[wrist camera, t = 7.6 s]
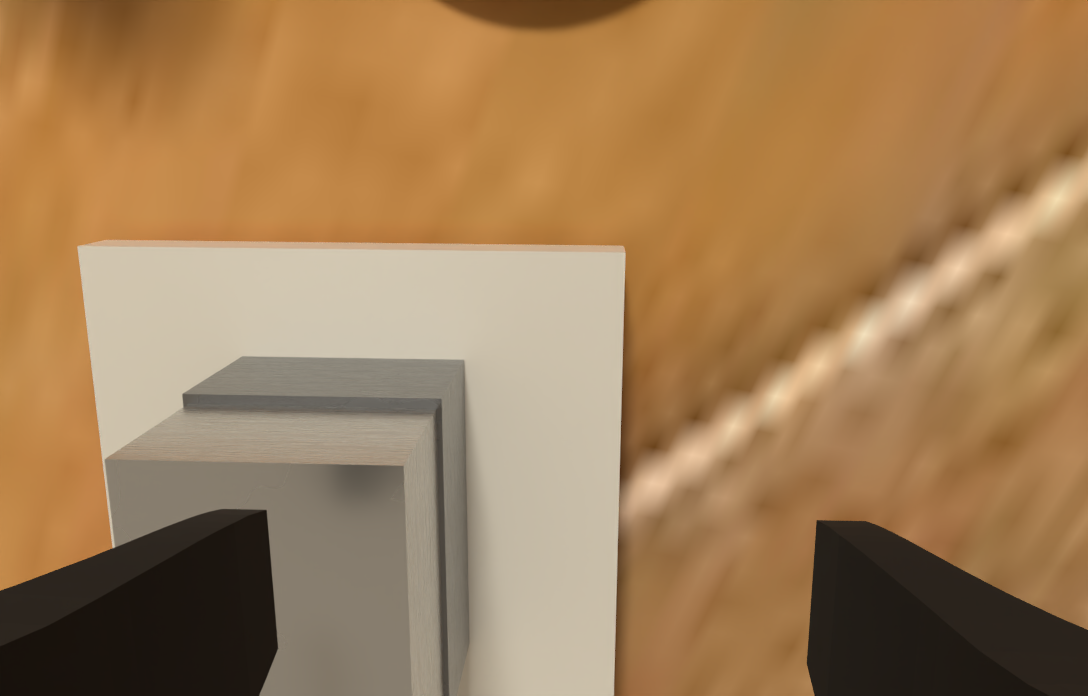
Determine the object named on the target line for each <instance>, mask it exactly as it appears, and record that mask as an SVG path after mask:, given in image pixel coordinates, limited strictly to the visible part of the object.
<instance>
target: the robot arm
mask: <svg viewBox="0 0 1088 696" xmlns="http://www.w3.org/2000/svg"><path fill="white" fill-rule="evenodd" d="M277 650H278V640H277V628H276V615H275V603H274V591H273V579H272V567H271V555H270V543H269V531H268V519H267V510H253V509H219V510H215V511H210V512H206V513H203V514H200V515H197V516H194V517H191V518H188V519H185V520H182V521H180V522H177V523H174V524H172V525H169V526H167V527H164V528H162V529H159V530H157V531H154V532H152V533H149V534H147V535H144V536H142V537H139V538H137V539H134V540H132V541H129V542H127V543H125V544H122V545H120V546H117V547H115V548H112V549H110V550H107V551H105V552H102V553H100V554H98V555H95V556H93V557H90V558H87V559H85V560H82V561H79V562H77V563H74V564H71V565H69V566H66V567H63V568H61V569H58V570H55V571H53V572H50V573H48V574H45V575H42V576H40V577H37V578H34V579H32V580H29V581H26V582H24V583H21V584H18V585H16V586H13V587H10V588H7V589H4V590H1V591H0V696H259V695H260V692H261V690H262V688H263V685H264V683H265V681H266V678H267V676H268V673H269V670H270V668H271V665H272V663H273V660H274V658H275V655H276V653H277ZM807 666H808V670H809V674H810V678H811V682H812V686H813V690H814V694H815V696H1088V630H1086V629H1084V628H1082V627H1079V626H1077V625H1075V624H1072V623H1070V622H1068V621H1065V620H1063V619H1061V618H1059V617H1056V616H1054V615H1052V614H1050V613H1048V612H1046V611H1044V610H1041V609H1039V608H1037V607H1035V606H1033V605H1031V604H1029V603H1027V602H1024V601H1022V600H1020V599H1018V598H1016V597H1014V596H1012V595H1010V594H1008V593H1006V592H1004V591H1002V590H1000V589H998V588H996V587H994V586H992V585H990V584H988V583H986V582H984V581H982V580H980V579H978V578H976V577H975V576H973V575H971V574H969V573H967V572H965V571H963V570H961V569H960V568H958V567H956V566H954V565H952V564H950V563H948V562H947V561H945V560H943V559H941V558H939V557H937V556H936V555H934V554H932V553H930V552H928V551H926V550H925V549H923V548H921V547H919V546H917V545H915V544H914V543H912V542H910V541H908V540H906V539H904V538H902V537H900V536H898V535H896V534H894V533H893V532H891V531H888V530H886V529H884V528H882V527H880V526H877V525H875V524H872V523H869V522H866V521H823V520H817V525H816V540H815V554H814V569H813V583H812V598H811V612H810V626H809V641H808V655H807Z"/></svg>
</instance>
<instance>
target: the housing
mask: <svg viewBox="0 0 1088 696" xmlns="http://www.w3.org/2000/svg"><path fill="white" fill-rule="evenodd" d="M182 398H183V408H181V409H180V410H178V411H177V412H175V413H174V414H172V415H171V416H169V417H168V418H166V419H165V420H163V421H162V422H160V423H159V424H157V425H156V426H154V427H153V428H151V429H150V430H148V431H147V432H145V433H144V434H142V435H141V436H139V437H137V438H136V439H134V440H133V441H131V442H130V443H128V444H127V445H125V446H124V447H122V448H121V449H119V450H118V451H116V452H115V453H113V454H112V455H110V456H109V457H107V458H106V459H105V467H106V475H107V484H108V492H109V501H110V509H111V518H112V526H113V534H114V543H115V547H117V546H120V545H122V544H125V543H127V542H129V541H132V540H134V539H137V538H139V537H142V536H144V535H147V534H149V533H152V532H154V531H157V530H159V529H162V528H164V527H167V526H169V525H172V524H174V523H177V522H180V521H182V520H185V519H188V518H191V517H194V516H197V515H200V514H203V513H206V512H210V511H215V510H219V509H253V510H267V519H268V531H269V543H270V555H271V567H272V579H273V591H274V603H275V615H276V628H277V640H278V650H277V653H276V655H275V658H274V660H273V663H272V665H271V668H270V670H269V673H268V676H267V678H266V681H265V683H264V685H263V688H262V690H261V692H260V695H259V696H457V693H458V688H459V684H460V680H461V676H462V672H463V668H464V664H465V660H466V656H467V652H468V648H469V644H470V642H469V589H468V536H467V484H466V431H465V378H464V360H446V359H383V358H319V357H255V356H242V357H240V358H239V359H237V360H236V361H234V362H232V363H231V364H229V365H228V366H226V367H224V368H223V369H221V370H220V371H218V372H216V373H215V374H213V375H212V376H210V377H208V378H207V379H205V380H204V381H202V382H200V383H199V384H197V385H196V386H194V387H192V388H191V389H189V390H188V391H186V392H184V393H183V394H182Z"/></svg>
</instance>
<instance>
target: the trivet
mask: <svg viewBox="0 0 1088 696" xmlns="http://www.w3.org/2000/svg"><path fill="white" fill-rule="evenodd" d="M78 254H79V263H80V271H81V280H82V289H83V297H84V306H85V314H86V323H87V331H88V340H89V349H90V357H91V366H92V374H93V383H94V391H95V400H96V409H97V417H98V426H99V434H100V443H101V452H102V460H103V469H104V477H105V486H106V494H107V503H108V512H109V520H110V529H111V537H112V546H113V548H115V543H114V534H113V526H112V518H111V509H110V501H109V492H108V484H107V475H106V467H105V459H106V458H107V457H109V456H110V455H112V454H113V453H115V452H116V451H118V450H119V449H121V448H122V447H124V446H125V445H127V444H128V443H130V442H131V441H133V440H134V439H136V438H137V437H139V436H141V435H142V434H144V433H145V432H147V431H148V430H150V429H151V428H153V427H154V426H156V425H157V424H159V423H160V422H162V421H163V420H165V419H166V418H168V417H169V416H171V415H172V414H174V413H175V412H177V411H178V410H180V409H181V408H183V398H182V394H183V393H184V392H186V391H188V390H189V389H191V388H192V387H194V386H196V385H197V384H199V383H200V382H202V381H204V380H205V379H207V378H208V377H210V376H212V375H213V374H215V373H216V372H218V371H220V370H221V369H223V368H224V367H226V366H228V365H229V364H231V363H232V362H234V361H236V360H237V359H239V358H240V357H242V356H255V357H319V358H383V359H446V360H464V378H465V431H466V484H467V536H468V589H469V642H470V644H469V648H468V652H467V656H466V660H465V664H464V668H463V672H462V676H461V680H460V684H459V688H458V693H457V696H614V671H615V633H616V594H617V556H618V518H619V480H620V442H621V403H622V365H623V327H624V289H625V249H624V246H597V245H509V244H421V243H334V242H246V241H158V240H104V241H99V242H94V243H90V244H85V245H80V246H78Z"/></svg>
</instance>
